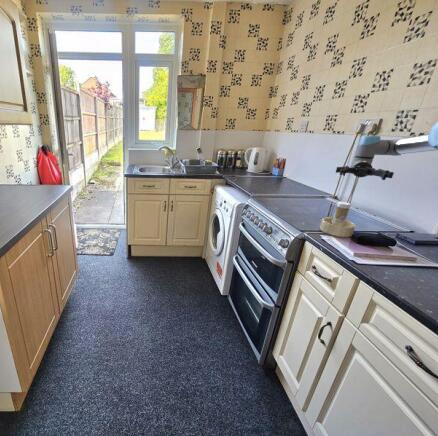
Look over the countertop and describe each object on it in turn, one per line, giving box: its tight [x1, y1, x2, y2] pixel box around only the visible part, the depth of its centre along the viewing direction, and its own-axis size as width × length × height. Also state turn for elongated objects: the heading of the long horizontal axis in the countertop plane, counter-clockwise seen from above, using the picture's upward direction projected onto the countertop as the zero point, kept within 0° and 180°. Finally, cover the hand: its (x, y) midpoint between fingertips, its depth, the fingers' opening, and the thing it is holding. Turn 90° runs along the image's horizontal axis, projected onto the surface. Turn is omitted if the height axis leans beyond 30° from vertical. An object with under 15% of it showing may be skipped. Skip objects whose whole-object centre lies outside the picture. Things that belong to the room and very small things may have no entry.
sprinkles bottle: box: [332, 201, 352, 227], centre depth 110 cm, size 5×5×13 cm
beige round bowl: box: [319, 216, 357, 238], centre depth 111 cm, size 12×12×5 cm
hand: (364, 174), depth 107 cm, fingers open, 13 cm apart
